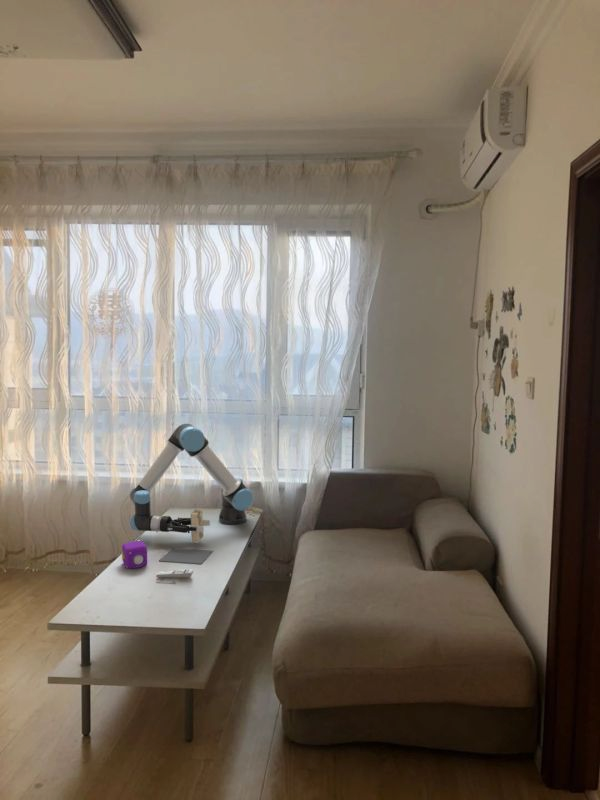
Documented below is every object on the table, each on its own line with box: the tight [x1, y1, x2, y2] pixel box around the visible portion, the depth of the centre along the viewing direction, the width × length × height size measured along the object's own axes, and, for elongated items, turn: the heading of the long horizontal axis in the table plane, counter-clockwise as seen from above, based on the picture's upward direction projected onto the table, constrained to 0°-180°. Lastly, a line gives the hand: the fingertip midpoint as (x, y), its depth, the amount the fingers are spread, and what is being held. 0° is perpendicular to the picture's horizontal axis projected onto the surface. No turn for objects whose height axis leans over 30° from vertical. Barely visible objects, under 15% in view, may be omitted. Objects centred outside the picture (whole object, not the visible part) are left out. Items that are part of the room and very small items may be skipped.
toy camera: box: [121, 539, 148, 569], centre depth 256 cm, size 11×14×10 cm
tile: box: [190, 508, 204, 544], centre depth 281 cm, size 8×3×14 cm, turn 170°
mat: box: [158, 547, 214, 565], centre depth 267 cm, size 16×20×1 cm
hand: (206, 525), depth 280 cm, fingers closed on tile, 8 cm apart
